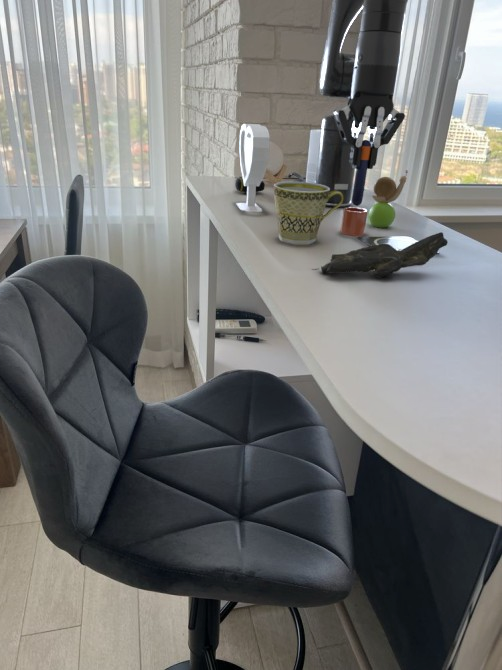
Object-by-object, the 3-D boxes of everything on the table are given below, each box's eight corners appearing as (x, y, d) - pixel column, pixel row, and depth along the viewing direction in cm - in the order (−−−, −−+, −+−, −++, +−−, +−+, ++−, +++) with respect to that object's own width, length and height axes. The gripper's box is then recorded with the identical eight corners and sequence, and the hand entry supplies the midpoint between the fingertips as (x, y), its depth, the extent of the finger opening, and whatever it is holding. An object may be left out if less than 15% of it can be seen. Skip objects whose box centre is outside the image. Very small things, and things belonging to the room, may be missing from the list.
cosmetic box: (323, 183, 153) (329, 128, 146) (340, 187, 149) (347, 130, 142) (304, 185, 148) (309, 128, 141) (320, 189, 144) (326, 131, 137)
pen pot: (337, 232, 102) (340, 207, 100) (358, 231, 103) (361, 207, 101) (345, 238, 98) (349, 212, 96) (367, 237, 99) (371, 212, 97)
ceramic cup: (275, 248, 89) (280, 191, 85) (265, 233, 98) (269, 180, 93) (346, 249, 91) (354, 192, 87) (329, 234, 100) (336, 182, 95)
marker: (349, 204, 99) (358, 139, 93) (358, 204, 99) (368, 139, 94) (353, 206, 97) (363, 140, 91) (363, 206, 97) (373, 140, 92)
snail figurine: (398, 232, 104) (409, 172, 99) (366, 229, 105) (375, 169, 100) (396, 226, 109) (407, 168, 103) (366, 223, 110) (375, 166, 104)
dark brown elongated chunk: (329, 297, 76) (453, 271, 78) (329, 266, 73) (458, 239, 75) (317, 277, 81) (433, 253, 83) (316, 247, 78) (437, 222, 80)
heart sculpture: (234, 201, 123) (237, 121, 115) (254, 201, 124) (258, 122, 116) (246, 216, 110) (250, 127, 102) (268, 216, 111) (274, 128, 103)
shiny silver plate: (356, 239, 97) (357, 236, 97) (408, 239, 100) (409, 235, 99) (382, 257, 88) (383, 253, 87) (439, 256, 90) (439, 252, 90)
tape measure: (265, 194, 134) (266, 179, 132) (242, 195, 130) (243, 180, 129) (252, 189, 139) (253, 175, 137) (230, 190, 136) (231, 176, 134)
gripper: (402, 66, 92) (386, 166, 100) (331, 61, 89) (320, 164, 96) (423, 65, 85) (404, 172, 93) (347, 60, 82) (334, 170, 90)
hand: (361, 167), depth 95 cm, fingers closed on marker, 2 cm apart
